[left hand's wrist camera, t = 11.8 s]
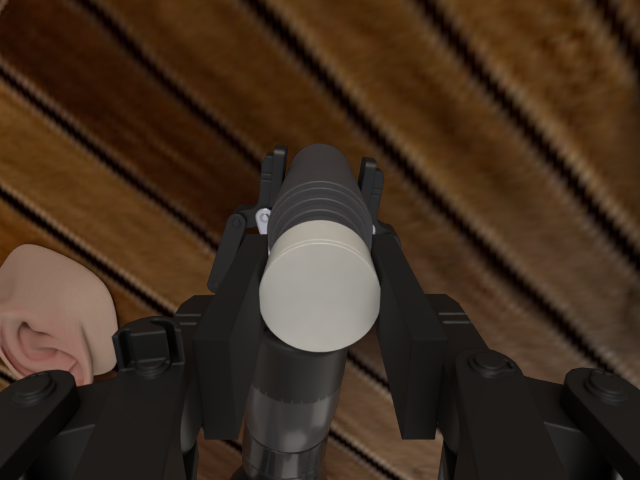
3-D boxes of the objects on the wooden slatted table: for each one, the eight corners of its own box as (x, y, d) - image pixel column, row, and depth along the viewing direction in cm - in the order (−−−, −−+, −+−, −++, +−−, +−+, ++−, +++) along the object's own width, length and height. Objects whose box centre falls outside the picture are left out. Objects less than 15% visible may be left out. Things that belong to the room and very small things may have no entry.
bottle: (278, 183, 32) (215, 314, 13) (310, 130, 31) (294, 190, 11) (328, 215, 33) (340, 381, 14) (362, 165, 32) (428, 273, 12)
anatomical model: (-49, 251, 30) (104, 286, 31) (-8, 234, 34) (127, 265, 35) (-40, 387, 34) (94, 413, 35) (-5, 358, 38) (115, 383, 39)
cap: (248, 283, 15) (235, 316, 12) (303, 199, 14) (300, 218, 11) (334, 331, 15) (336, 371, 13) (393, 255, 14) (406, 284, 12)
